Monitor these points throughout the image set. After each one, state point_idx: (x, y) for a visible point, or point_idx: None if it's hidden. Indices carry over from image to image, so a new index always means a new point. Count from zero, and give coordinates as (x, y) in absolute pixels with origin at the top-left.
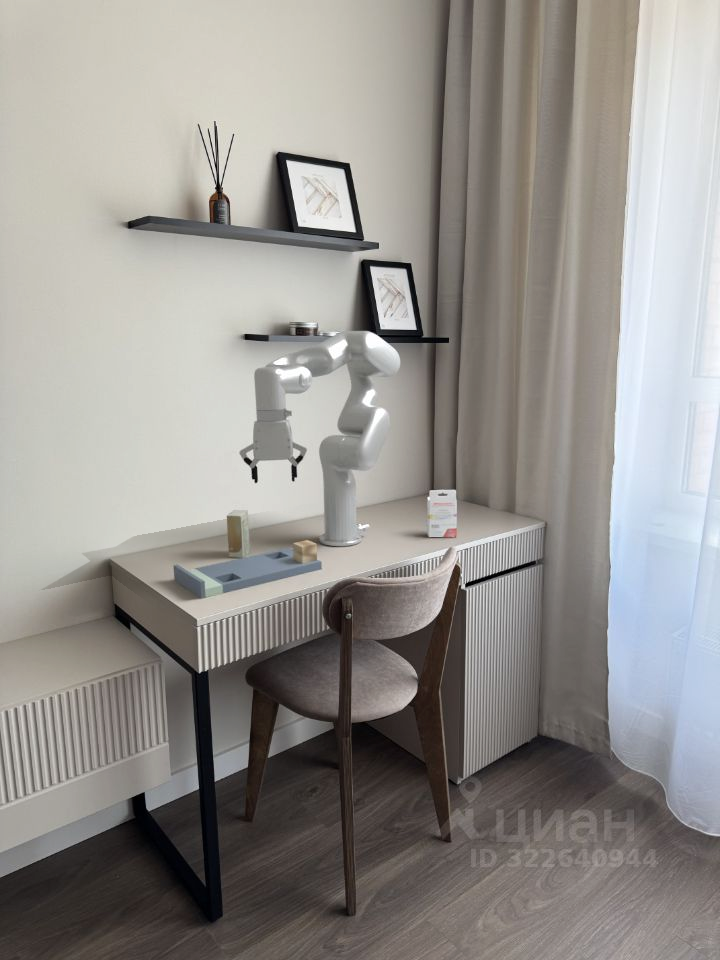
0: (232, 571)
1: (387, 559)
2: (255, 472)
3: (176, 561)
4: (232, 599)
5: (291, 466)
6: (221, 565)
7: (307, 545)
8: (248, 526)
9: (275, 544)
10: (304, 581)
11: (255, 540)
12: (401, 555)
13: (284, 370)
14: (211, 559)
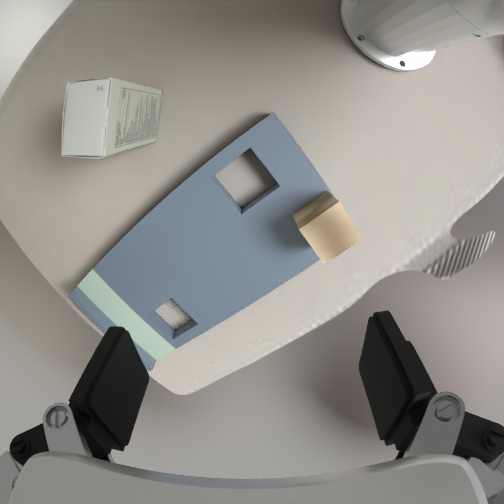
0: (168, 289)
1: (468, 180)
2: (127, 428)
3: (41, 179)
4: (201, 359)
5: (389, 431)
6: (133, 253)
7: (338, 252)
8: (136, 86)
9: (222, 28)
10: (314, 296)
11: (165, 4)
12: (488, 160)
13: None
14: (91, 158)
